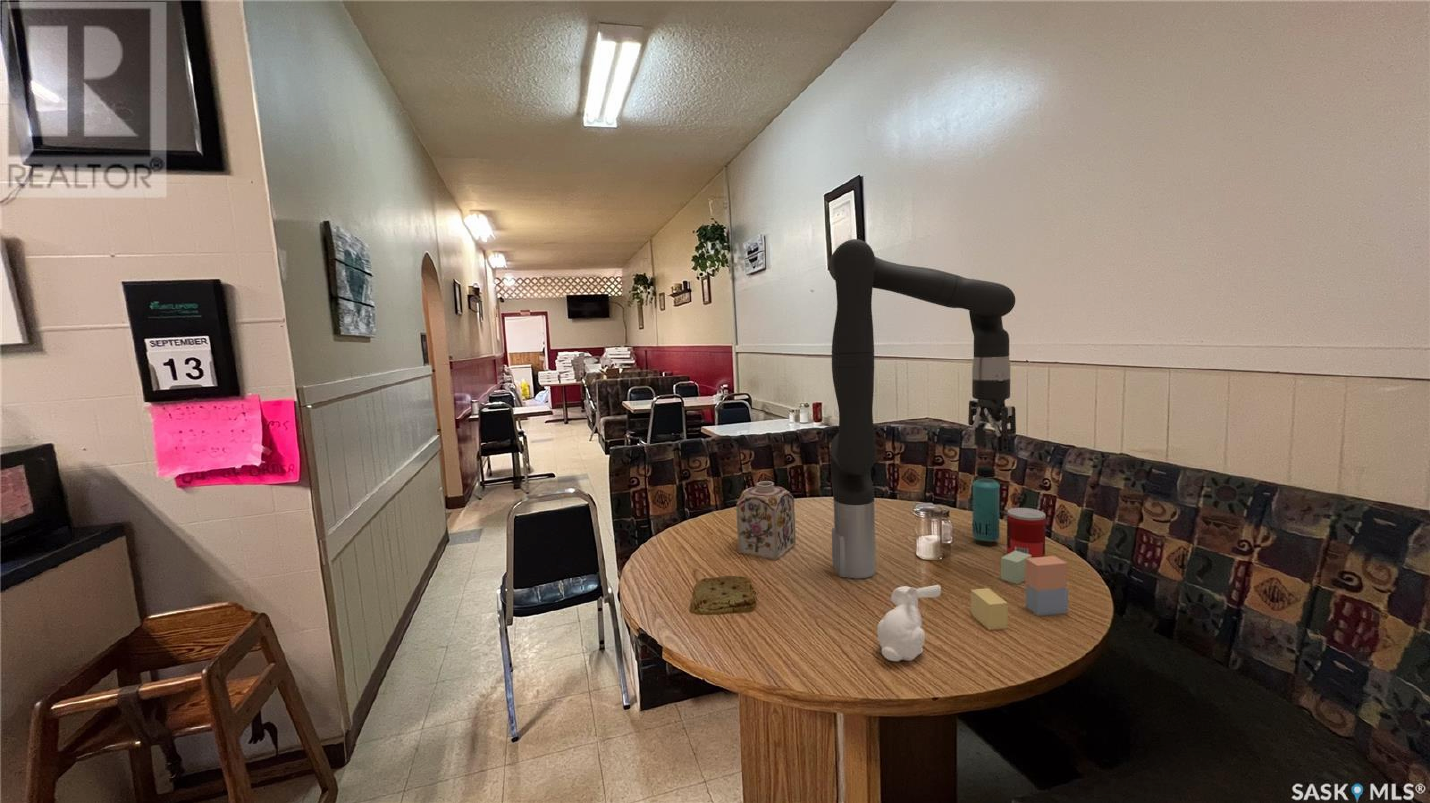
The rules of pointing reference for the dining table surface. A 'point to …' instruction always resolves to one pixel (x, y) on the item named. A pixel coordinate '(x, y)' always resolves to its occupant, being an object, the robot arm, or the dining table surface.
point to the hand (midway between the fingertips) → (990, 449)
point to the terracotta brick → (1046, 573)
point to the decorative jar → (766, 521)
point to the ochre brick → (989, 608)
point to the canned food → (1026, 531)
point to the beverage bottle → (985, 506)
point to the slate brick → (1047, 601)
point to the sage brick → (1014, 567)
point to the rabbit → (904, 624)
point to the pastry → (723, 595)
